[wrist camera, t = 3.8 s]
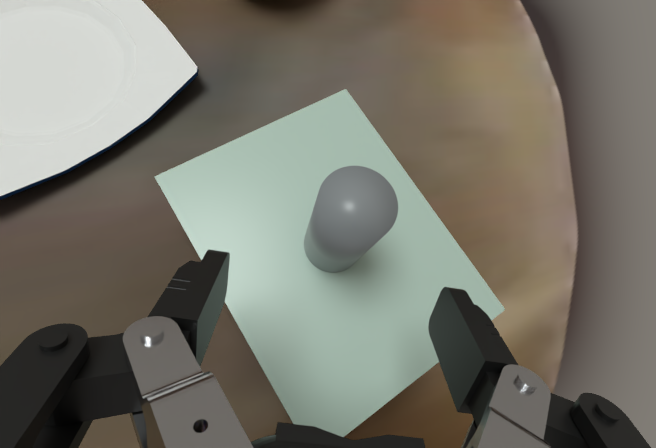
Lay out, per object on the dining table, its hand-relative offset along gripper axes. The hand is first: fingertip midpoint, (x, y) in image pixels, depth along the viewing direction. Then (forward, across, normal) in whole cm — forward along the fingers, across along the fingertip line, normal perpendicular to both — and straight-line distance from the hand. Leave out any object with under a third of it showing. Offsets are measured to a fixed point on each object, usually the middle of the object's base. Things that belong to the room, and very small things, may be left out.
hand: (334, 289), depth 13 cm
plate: (+22, +24, -1) cm, 33 cm away
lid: (+10, -1, +4) cm, 10 cm away
